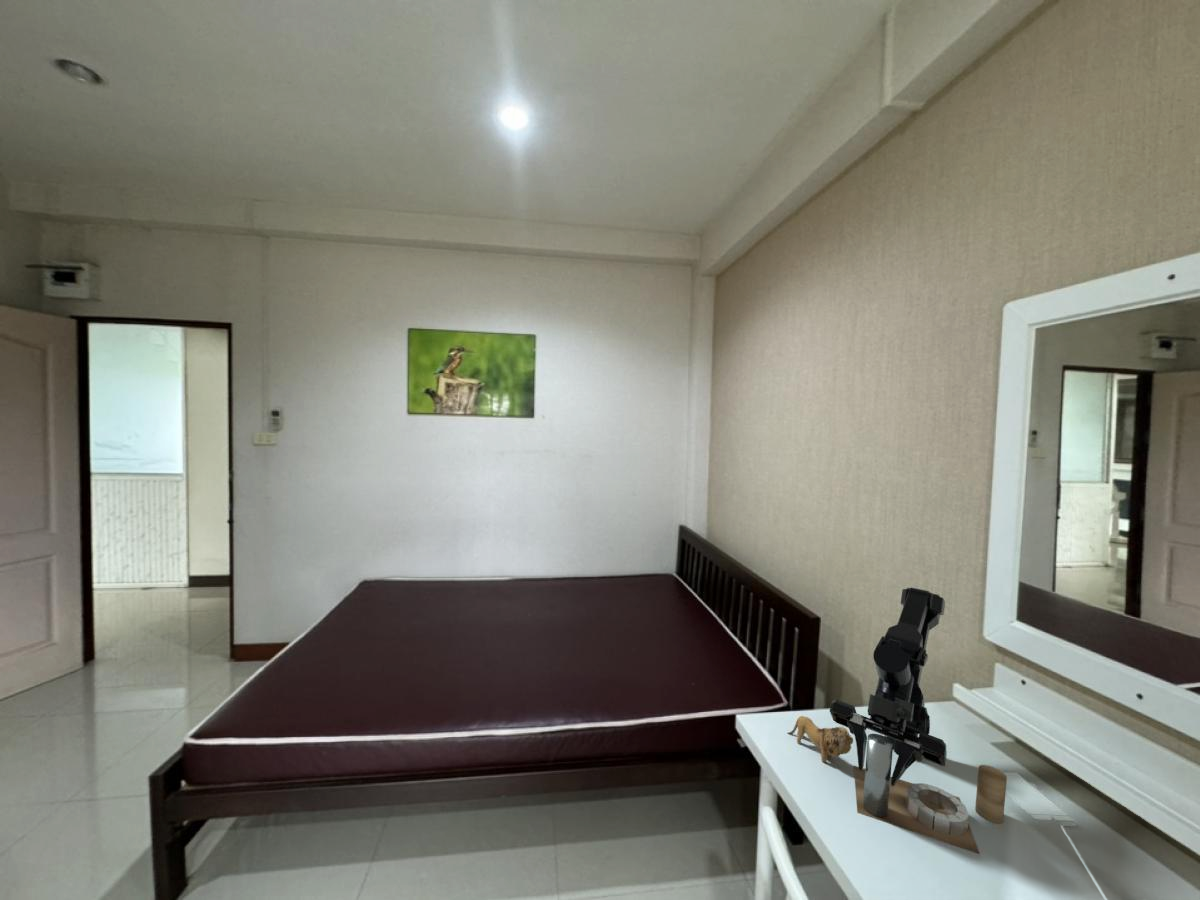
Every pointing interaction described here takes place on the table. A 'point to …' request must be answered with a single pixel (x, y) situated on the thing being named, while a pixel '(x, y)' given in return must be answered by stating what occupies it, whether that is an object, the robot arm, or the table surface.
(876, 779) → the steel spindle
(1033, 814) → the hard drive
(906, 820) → the walnut board
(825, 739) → the lion figurine
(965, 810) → the grey stone ring
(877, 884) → the table surface
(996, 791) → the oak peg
